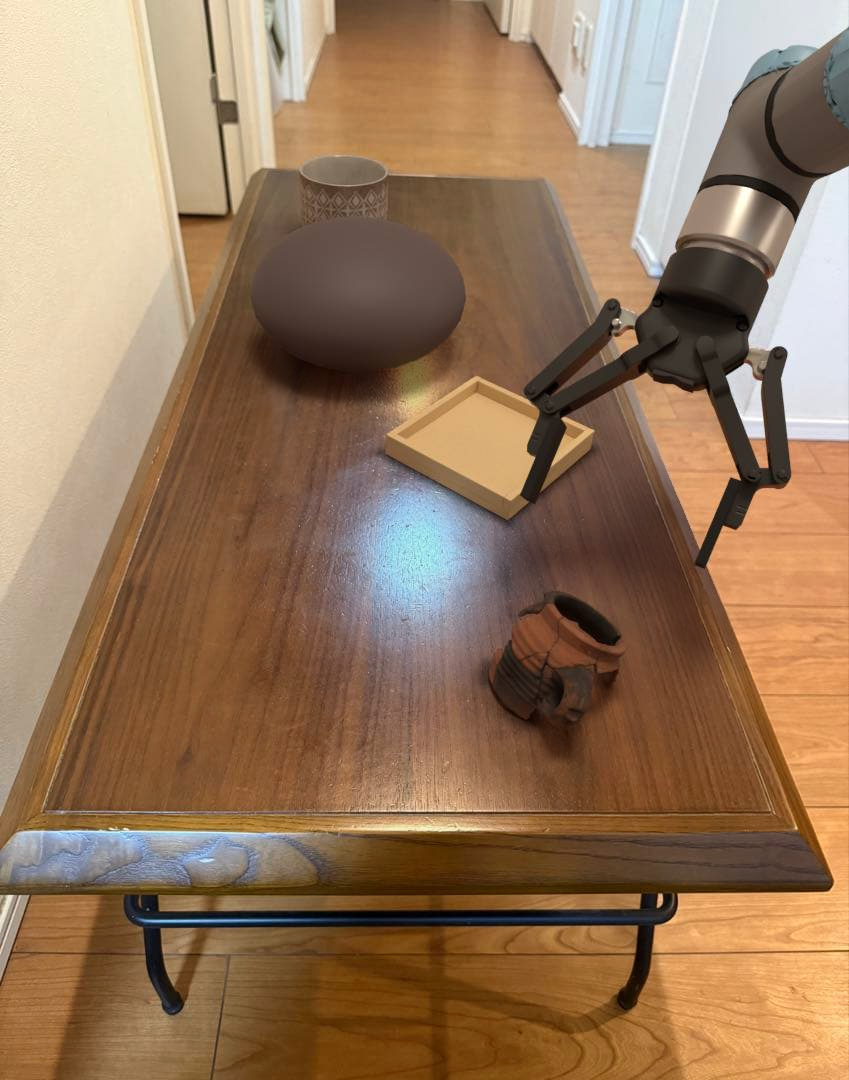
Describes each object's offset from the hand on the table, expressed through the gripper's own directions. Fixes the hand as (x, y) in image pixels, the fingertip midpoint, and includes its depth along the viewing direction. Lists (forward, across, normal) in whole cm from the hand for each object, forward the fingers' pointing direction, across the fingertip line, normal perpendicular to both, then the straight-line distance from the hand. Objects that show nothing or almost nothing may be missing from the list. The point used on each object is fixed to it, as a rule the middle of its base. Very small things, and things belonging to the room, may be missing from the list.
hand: (610, 532), depth 62 cm
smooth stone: (-12, +40, -29) cm, 51 cm away
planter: (-30, +59, -47) cm, 81 cm away
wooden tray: (-5, +18, -21) cm, 28 cm away
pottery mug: (+13, 0, -4) cm, 14 cm away
